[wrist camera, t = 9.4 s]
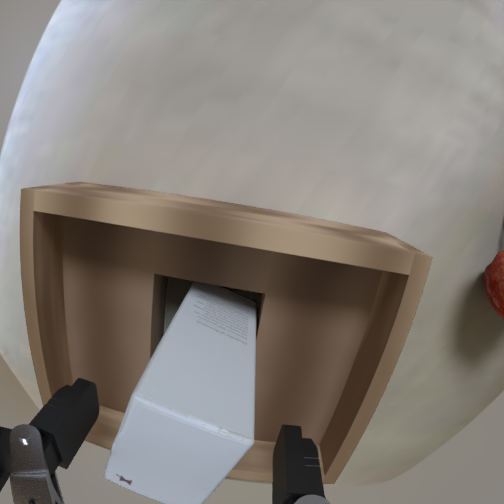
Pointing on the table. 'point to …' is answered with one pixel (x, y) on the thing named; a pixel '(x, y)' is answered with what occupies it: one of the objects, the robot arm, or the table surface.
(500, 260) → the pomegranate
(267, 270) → the crate
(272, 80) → the table surface
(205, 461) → the skincare box
